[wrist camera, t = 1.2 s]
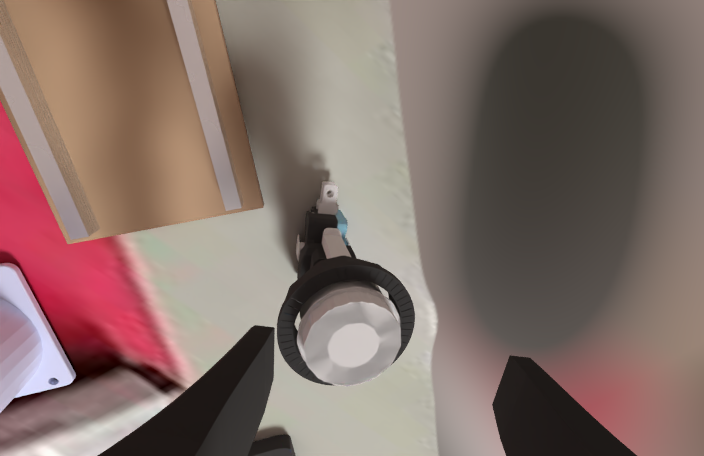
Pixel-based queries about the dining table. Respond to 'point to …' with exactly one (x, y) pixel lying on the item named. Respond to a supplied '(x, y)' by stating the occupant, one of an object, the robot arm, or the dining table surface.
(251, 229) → the dining table surface
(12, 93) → the white guide rails
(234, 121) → the mounting board
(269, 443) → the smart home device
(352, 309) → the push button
